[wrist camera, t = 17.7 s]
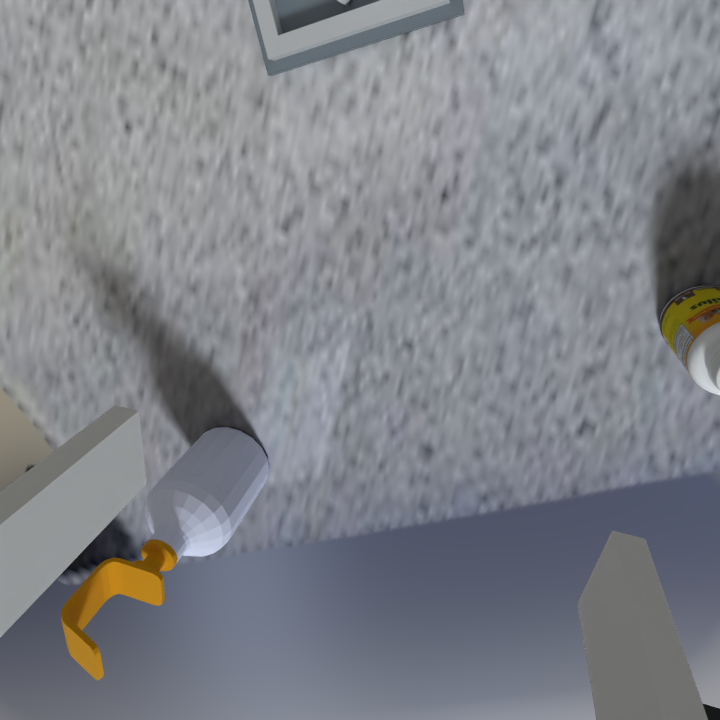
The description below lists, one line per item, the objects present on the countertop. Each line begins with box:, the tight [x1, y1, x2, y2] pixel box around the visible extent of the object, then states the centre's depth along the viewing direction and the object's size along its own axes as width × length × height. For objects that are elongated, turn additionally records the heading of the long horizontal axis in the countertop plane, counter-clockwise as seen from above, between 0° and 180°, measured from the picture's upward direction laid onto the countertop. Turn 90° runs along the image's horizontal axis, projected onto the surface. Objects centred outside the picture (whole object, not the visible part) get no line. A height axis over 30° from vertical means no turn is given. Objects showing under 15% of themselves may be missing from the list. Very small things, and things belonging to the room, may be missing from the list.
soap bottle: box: [61, 427, 269, 680], centre depth 47 cm, size 9×9×25 cm
